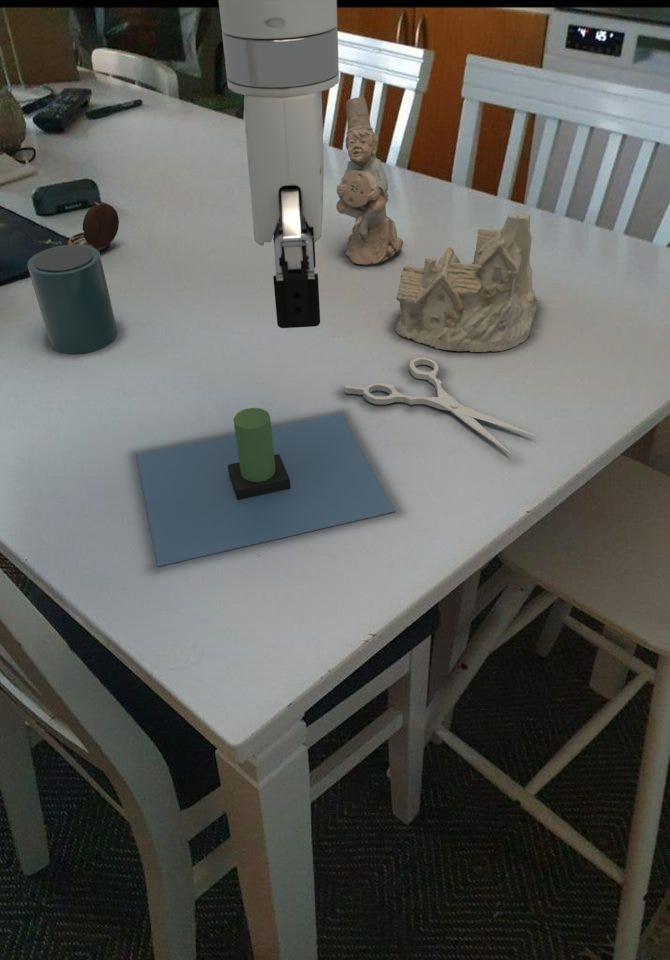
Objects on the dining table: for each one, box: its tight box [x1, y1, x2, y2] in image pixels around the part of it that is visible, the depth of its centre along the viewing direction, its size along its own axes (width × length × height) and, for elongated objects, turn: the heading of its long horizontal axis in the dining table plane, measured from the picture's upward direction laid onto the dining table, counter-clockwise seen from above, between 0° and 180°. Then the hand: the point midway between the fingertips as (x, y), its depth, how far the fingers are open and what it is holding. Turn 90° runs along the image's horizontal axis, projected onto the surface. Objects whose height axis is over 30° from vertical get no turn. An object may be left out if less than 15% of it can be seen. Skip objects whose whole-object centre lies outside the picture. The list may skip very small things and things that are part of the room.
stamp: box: [228, 407, 290, 500], centre depth 73 cm, size 5×4×7 cm
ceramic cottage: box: [395, 211, 538, 353], centre depth 94 cm, size 16×16×15 cm
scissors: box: [343, 357, 537, 457], centre depth 83 cm, size 11×1×20 cm
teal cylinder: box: [27, 244, 119, 355], centre depth 95 cm, size 8×8×10 cm
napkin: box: [136, 413, 396, 568], centre depth 75 cm, size 21×16×1 cm
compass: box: [65, 201, 120, 253], centre depth 115 cm, size 8×8×7 cm
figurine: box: [335, 96, 404, 265], centre depth 107 cm, size 9×8×20 cm
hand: (297, 295), depth 64 cm, fingers open, 9 cm apart
